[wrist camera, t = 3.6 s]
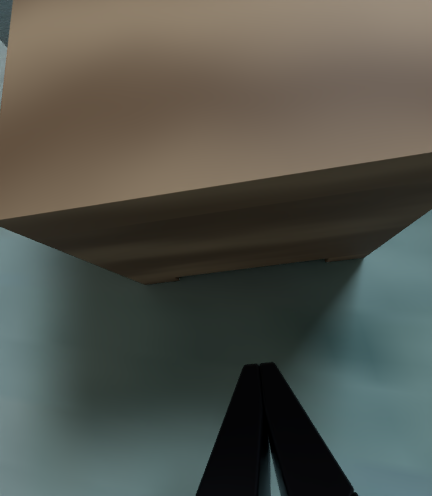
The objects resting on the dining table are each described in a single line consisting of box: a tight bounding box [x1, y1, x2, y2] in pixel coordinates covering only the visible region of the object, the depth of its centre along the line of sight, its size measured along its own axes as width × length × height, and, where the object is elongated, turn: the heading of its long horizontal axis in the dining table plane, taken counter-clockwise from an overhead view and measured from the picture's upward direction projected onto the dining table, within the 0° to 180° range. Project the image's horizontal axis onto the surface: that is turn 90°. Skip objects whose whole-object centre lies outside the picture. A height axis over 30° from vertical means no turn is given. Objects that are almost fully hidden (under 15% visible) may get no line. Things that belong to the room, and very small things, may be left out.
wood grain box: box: [0, 0, 432, 285], centre depth 14 cm, size 16×12×10 cm
